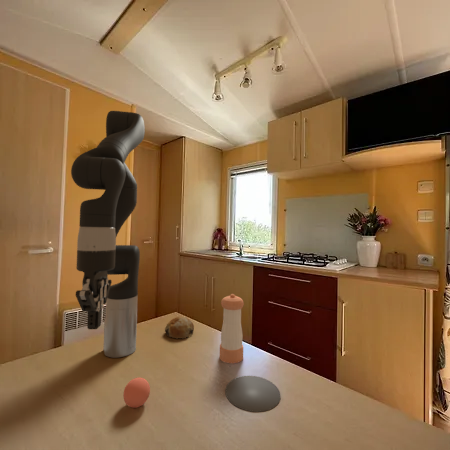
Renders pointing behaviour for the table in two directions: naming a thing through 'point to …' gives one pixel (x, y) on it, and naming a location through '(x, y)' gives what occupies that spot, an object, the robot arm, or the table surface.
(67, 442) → the table surface
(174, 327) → the bread roll
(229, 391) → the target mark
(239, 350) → the pepper shaker
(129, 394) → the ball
